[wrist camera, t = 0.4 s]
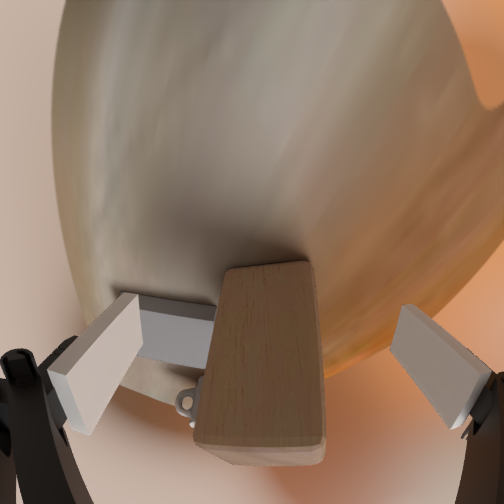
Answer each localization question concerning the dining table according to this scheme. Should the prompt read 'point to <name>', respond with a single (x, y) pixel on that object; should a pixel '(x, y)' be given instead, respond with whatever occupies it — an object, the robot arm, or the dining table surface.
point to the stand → (175, 331)
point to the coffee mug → (195, 395)
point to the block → (265, 370)
